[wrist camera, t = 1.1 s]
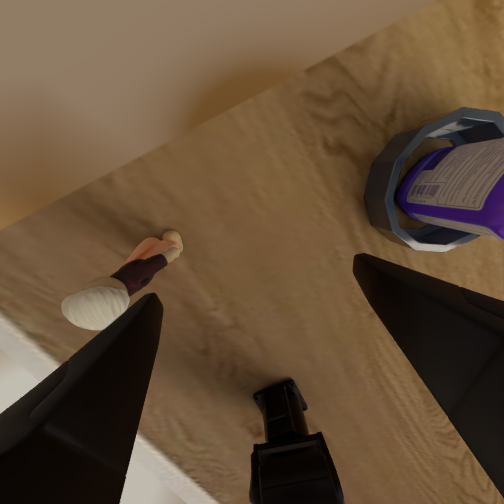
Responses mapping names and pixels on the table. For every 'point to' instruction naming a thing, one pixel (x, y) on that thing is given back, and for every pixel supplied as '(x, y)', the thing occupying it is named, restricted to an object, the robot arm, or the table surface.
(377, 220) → the ring
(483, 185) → the bottle
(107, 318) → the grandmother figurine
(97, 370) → the robot arm
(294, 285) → the table surface
